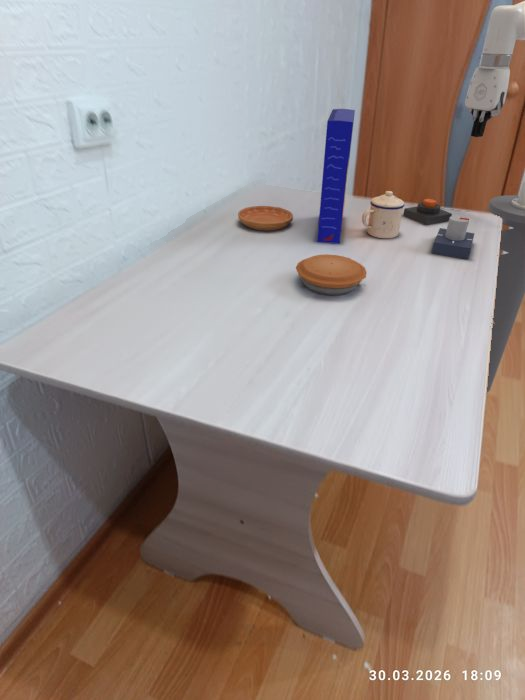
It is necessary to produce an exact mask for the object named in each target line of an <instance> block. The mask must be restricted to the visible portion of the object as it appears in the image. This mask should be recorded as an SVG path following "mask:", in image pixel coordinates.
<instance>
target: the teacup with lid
mask: <svg viewBox="0 0 525 700" xmlns="http://www.w3.org/2000/svg"><path fill="white" fill-rule="evenodd" d="M404 207H405V202H404V200H403V199H401V198H398V197H397V196H396V195H394V193H393V191H391V190H386V191H385V192H384V194H381V195H379V196H375V197H372V199H371V200H370V208H369V209H367V210H365V211H364V212H363V214H362V217H361V223H362V225H363V226H364V227H365V228H367V234H368V235H370V236H371V237H374V238H379V239H393V238H396V237H397V236H398V235H399V234H400V233H399V232H400V227H401V222H402V221H401V220H402V216H403V212H404ZM368 215H369V217H368V223H367V216H368Z"/></svg>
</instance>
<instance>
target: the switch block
mask: <svg viewBox="0 0 525 700" xmlns="http://www.w3.org/2000/svg"><path fill="white" fill-rule="evenodd" d="M423 203H424V201H422V202H421V201H420V202H419V203H417V206H411V207H405V208H403V213H402V216H404V217H406V218H408V219H411V220H413V221H415V222H417V223H420V224H422V225H425V226H428V225H429V226H430V225H434V224H440V223H445V222H449V218H450V217H451V216H453V213H451V212H450V211H446V210H444V209H442V208H441V207H442V206H441V204H438V203H436V205H435V207H426V206H423Z"/></svg>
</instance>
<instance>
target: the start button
mask: <svg viewBox="0 0 525 700" xmlns="http://www.w3.org/2000/svg"><path fill="white" fill-rule="evenodd" d="M423 202H424V203H423V206H426V207H435V205H436V204H437V200H435V199H432V198H425V199H423Z"/></svg>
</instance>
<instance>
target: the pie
mask: <svg viewBox="0 0 525 700" xmlns="http://www.w3.org/2000/svg"><path fill="white" fill-rule="evenodd" d="M295 269H296V272H297V274H298V276H299V277H300V280H301V281H302V282H303V284H304V286H305V287H306V288H307V289H309V290H310V291H312V292H314V293H316V294H321V295H326V296H340V295H345V294H346V295H347V294H348V293H351V292H352V291H353V290H355V288H357V286H358V285H359V284H360V283H361V282H362V281H363V280H364V279H365V278H367V269H366V267H365V266H364V265H363V264H362V263H360V262H358V261H357V260H354V259H352V258H350V257H346V256H344V255H338V254H328V253H327V254H317V255H313V256H309V257H307V258H304V259H302V260H300V261H299V262H298V263H297V264H296V266H295Z"/></svg>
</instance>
